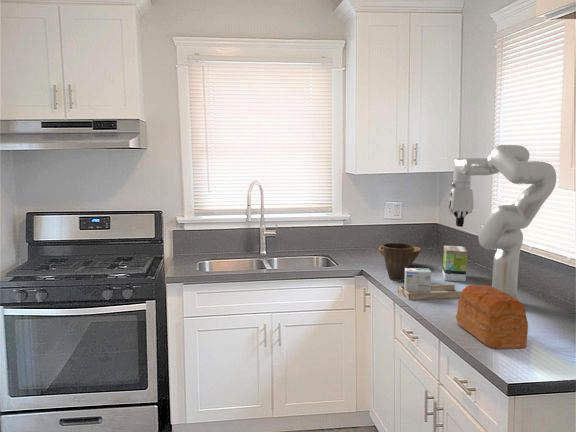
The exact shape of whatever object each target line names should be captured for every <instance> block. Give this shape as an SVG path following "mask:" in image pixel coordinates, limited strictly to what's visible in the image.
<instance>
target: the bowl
mask: <svg viewBox="0 0 576 432" xmlns="http://www.w3.org/2000/svg"><path fill="white" fill-rule="evenodd" d="M378 250H379V253H380V254H381V255H382V257H384V254H383V245H381V246H379V247H378ZM420 252H421V248H420V247H418V246H414V253H413V257H412V261H411V265H412V263H413V262H414V261H415V260H416V259H417V257H418V256H419V254H420Z"/></svg>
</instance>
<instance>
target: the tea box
mask: <svg viewBox="0 0 576 432" xmlns="http://www.w3.org/2000/svg"><path fill="white" fill-rule="evenodd" d="M467 264H468V250H467V249H466V247H465V246H459V245H458V246H457V245H443V253H442V269H441V271H442V272H441V273H442V276H443V279H444V281H450V282H464V283H465V282H466V280H467V266H468V265H467Z"/></svg>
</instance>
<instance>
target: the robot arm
mask: <svg viewBox="0 0 576 432" xmlns="http://www.w3.org/2000/svg"><path fill="white" fill-rule="evenodd" d="M452 173H453V175H452V176H453V178H452V182H451V183H450V184H449V185H450V187H452V188H451V190H450V193H449V197H448V209H449V210H448V214H452V215H453V216H454V217H455V225H456V226H457V227H458V228H460V227H461V228H463V227H464V224H465V218H466V216H467V215H469V214H472V213H473V211H474V191H473V188H472V189H471V179H472V177H473V176H490V175H495V174H499V173H500V174H502V176H503V177H504V178H505V179H507V180H508V181H509V182H510V183H513V184H516V185H530V186H528V187H527V188H526V189H524V190H523V191H522V192H521V193H520V194H519V196H518V197H517V200H516V201H515V202H514V203H513V204H503V205H498V206H497V207H495V208H493V209H492V211H491V212H490V213H489V215H488V216H487V218H486V220H485V222H484V223H483V224H482V227H481V229H480V230H479V233H478V243H479V246H480V247H482V249H485V250H488V251H491V250H493V251H495V250H496V251H495V253H494V256H493V263H492V275H491V276H492V278H491V280H492V281H491V287H493V288H496V289H497V290H500V291H502V292H504V293H506V294H508V295H510V296H511V297H513V298H514V299H516V300H518V301H519V302H521V300H520V298H518V279H519V266H520V264H519V261H520V253H521V249H522V244H523V242H524V241H523V240H524V235H523V232H522V230H524V229H526V228H528V227H529V225H530V224H531V223H532V221H533V220H534V218H535V217H536V215H537V213H539V212H540V210H541V207H542V206H543V204H544V203H545V202H546V200H548V199H549V197H550V196H551V194H553V192H554V189H555V187H556V184H557V171H556V169H555V167H554V165H553V164H550V163H548V162H547V161H539V160H537V161H535V160H530V152H529V149H527V148H526V147H525V146H523V145H518V144H501V145H500V144H499V145H497V146H495V147H494V148H493V149H492V150H491V152H490V153H489V155H488V156H487V157H475V158H474V157H469V158H468V157H467V158H463V157H462V158H458V157H457V158H455V159H454V161H453V172H452Z"/></svg>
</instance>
